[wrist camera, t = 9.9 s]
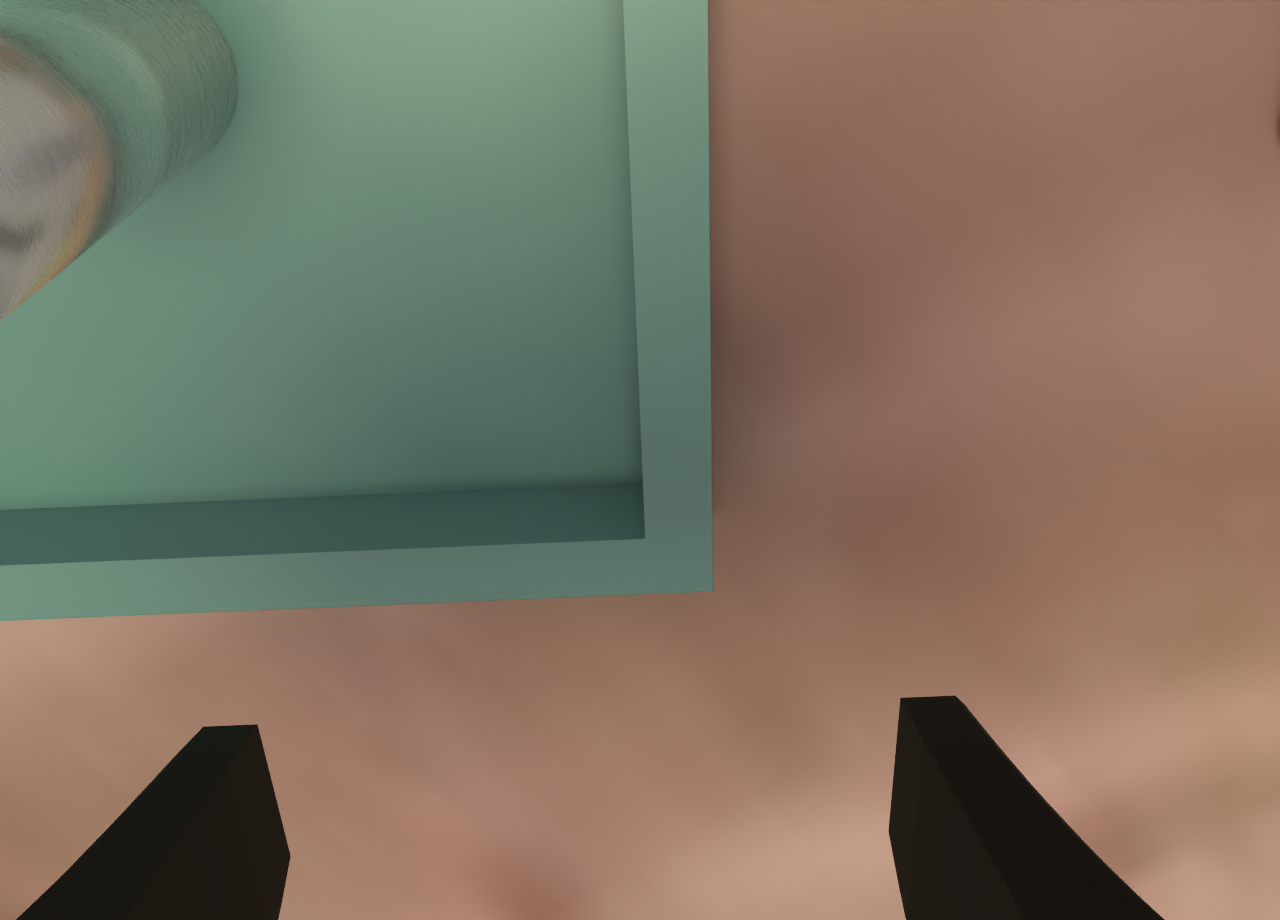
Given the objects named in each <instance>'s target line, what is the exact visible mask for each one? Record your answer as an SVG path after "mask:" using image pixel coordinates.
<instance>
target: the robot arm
mask: <svg viewBox="0 0 1280 920" xmlns="http://www.w3.org/2000/svg"><path fill="white" fill-rule="evenodd" d="M889 836H890V841H891V846H892V852H893V857H894V862H895V867H896V873H897V878H898V883H899V888H900V893H901V898H902V902H903V907H904V912H905V917H906V920H1164V919H1163V918H1162V917H1161V916H1160V915H1159V914H1158V913H1156V912H1155V911H1154V910H1153V909H1152V908H1151V907H1150V906H1149V905H1148V904H1147V903H1146V902H1145V901H1143V900H1142V899H1141V898H1140V897H1139V896H1138V895H1137V894H1136V893H1135V892H1134V891H1133V890H1132V889H1131V888H1130V887H1129V886H1128V885H1127V884H1126V883H1125V882H1124V881H1123V880H1122V879H1121V878H1120V877H1119V876H1118V875H1117V874H1115V873H1114V872H1113V871H1112V870H1111V869H1110V868H1109V867H1108V866H1107V865H1106V864H1105V863H1104V862H1103V861H1102V860H1101V859H1100V858H1099V857H1098V856H1097V855H1096V854H1095V853H1094V852H1093V850H1092V849H1091V848H1090V847H1089V846H1088V845H1087V844H1086V843H1085V842H1084V841H1083V840H1082V839H1081V838H1080V837H1079V836H1078V835H1077V834H1076V833H1075V832H1074V831H1073V829H1072V828H1071V827H1070V826H1069V825H1068V824H1067V823H1066V822H1065V821H1064V820H1063V819H1062V818H1061V817H1060V816H1059V814H1058V813H1057V812H1056V811H1055V810H1054V809H1053V808H1052V807H1051V806H1050V805H1049V804H1048V803H1047V802H1046V800H1045V799H1044V798H1043V797H1042V796H1041V795H1040V794H1039V793H1038V791H1037V790H1036V789H1035V788H1034V787H1033V786H1032V785H1031V784H1030V782H1029V781H1028V780H1027V779H1026V778H1025V777H1024V776H1023V774H1022V773H1021V772H1020V771H1019V770H1018V769H1017V767H1016V766H1015V765H1014V764H1013V763H1012V762H1011V760H1010V759H1009V758H1008V757H1007V756H1006V755H1005V753H1004V752H1003V751H1002V750H1001V749H1000V747H999V746H998V745H997V744H996V743H995V741H994V740H993V739H992V738H991V737H990V735H989V734H988V733H987V732H986V730H985V729H984V728H983V727H982V726H981V724H980V723H979V722H978V721H977V719H976V718H975V717H974V716H973V714H972V713H971V712H970V711H969V710H968V708H967V707H966V706H965V705H964V703H962V702H961V701H960V700H959V699H958V698H957V697H956V696H937V697H912V698H901V699H900V710H899V721H898V733H897V744H896V755H895V766H894V777H893V789H892V800H891V811H890V822H889ZM289 861H290V852H289V848H288V844H287V840H286V836H285V832H284V828H283V824H282V820H281V816H280V812H279V809H278V805H277V801H276V797H275V793H274V789H273V785H272V781H271V777H270V773H269V769H268V765H267V761H266V757H265V753H264V749H263V745H262V741H261V737H260V733H259V729H258V725H235V726H211V727H203V728H202V729H201V730H200V731H199V732H198V733H197V734H196V735H195V736H194V737H193V738H192V739H191V740H190V741H189V742H188V743H187V744H186V745H185V746H184V747H183V748H182V749H181V751H180V752H179V753H178V754H177V755H176V756H175V757H174V758H173V759H172V760H171V761H170V762H169V763H168V764H167V766H166V767H165V768H164V769H163V770H162V771H161V772H160V773H159V774H158V775H157V776H156V777H155V778H154V780H153V781H152V782H151V783H150V784H149V785H148V786H147V787H146V788H145V789H144V790H143V791H142V793H141V794H140V795H139V796H138V797H137V798H136V799H135V800H134V801H133V802H132V803H131V804H130V805H129V806H128V808H127V809H126V810H125V811H124V812H123V813H122V814H121V815H120V816H119V817H118V818H117V819H116V820H115V821H114V823H113V824H112V825H111V826H110V827H109V828H108V829H107V830H106V831H105V832H104V833H103V834H102V835H101V836H100V837H99V838H98V839H97V840H96V841H95V842H94V843H93V844H92V845H91V846H90V847H89V848H88V849H87V850H86V851H85V852H84V854H83V855H82V856H81V857H80V858H79V859H78V860H77V861H76V862H75V863H74V864H73V865H72V866H71V867H70V868H69V869H68V870H67V871H66V872H65V873H64V874H63V875H62V876H61V877H60V878H59V879H58V880H57V881H56V882H55V883H54V884H53V885H52V886H51V887H50V888H49V889H48V890H47V891H46V892H45V893H44V894H42V895H41V896H40V897H39V898H38V899H37V900H36V901H35V902H34V903H33V904H32V905H31V906H30V907H29V908H28V909H27V910H26V911H25V912H24V913H23V914H22V915H20V916H19V917H18V918H17V919H16V920H278V918H279V913H280V908H281V904H282V898H283V893H284V888H285V882H286V877H287V872H288V866H289Z"/></svg>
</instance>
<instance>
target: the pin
mask: <svg viewBox="0 0 1280 920" xmlns="http://www.w3.org/2000/svg"><path fill="white" fill-rule="evenodd" d="M237 99H238V75H237V70H236V64H235V61H234V57H233V54H232V51H231V49H230V46H229V44H228V42H227V39H226V38H225V36H224V34H223V32H222V31H221V29H220V27H219V26H218V25H217V23H216V22H215V20H214V19H213V18H212V16H211V15H210V14H209V13H208V12H207V11H206V10H205V9H204V8H203V6H201V5H200V4H199V3H198V2H197V1H196V0H19V1H16V2H12V3H9V4H6V5H3V6H0V322H1V321H2V320H3V319H4V318H5V317H7V316H8V315H9V314H10V313H12V312H13V311H14V310H15V309H16V308H18V307H19V306H20V305H21V304H22V303H24V302H25V301H26V300H27V299H29V298H30V297H31V296H32V295H33V294H35V293H36V292H37V291H38V290H39V289H41V288H42V287H43V286H44V285H46V284H47V283H48V282H49V281H50V280H52V279H53V278H54V277H55V276H57V275H58V274H59V273H60V272H61V271H63V270H64V269H65V268H66V267H67V266H69V265H70V264H71V263H72V262H74V261H75V260H76V259H77V258H78V257H80V256H81V255H82V254H83V253H84V252H86V251H87V250H88V249H89V248H91V247H92V246H93V245H94V244H95V243H97V242H98V241H99V240H100V239H101V238H103V237H104V236H105V235H106V234H108V233H109V232H110V231H111V230H112V229H114V228H115V227H116V226H117V225H119V224H120V223H121V222H122V221H123V220H125V219H126V218H127V217H128V216H129V215H131V214H132V213H133V212H134V211H136V210H137V209H138V208H139V207H140V206H142V205H143V204H144V203H145V202H146V201H148V200H149V199H150V198H151V197H153V196H154V195H155V194H156V193H157V192H159V191H160V190H161V189H162V188H163V187H165V186H166V185H167V184H168V183H170V182H171V181H172V180H173V179H174V178H176V177H177V176H178V175H179V174H181V173H182V172H183V171H184V170H185V169H187V168H188V167H189V166H190V165H191V164H193V163H194V162H195V161H196V160H198V159H199V158H200V157H201V156H202V155H204V154H205V153H206V152H207V151H208V150H210V149H211V148H212V147H213V146H214V145H215V144H216V143H217V142H218V141H219V140H220V139H221V138H222V136H223V135H224V134H225V132H226V130H227V129H228V127H229V125H230V123H231V121H232V118H233V116H234V113H235V109H236V105H237Z"/></svg>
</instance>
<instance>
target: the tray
mask: <svg viewBox="0 0 1280 920" xmlns="http://www.w3.org/2000/svg"><path fill="white" fill-rule="evenodd" d="M16 1H19V0H0V6H3V5H6V4H9V3H12V2H16ZM196 1H197V2H198V3H199V4H200V5H201V6H203V8H204V9H205V10H206V11H207V12H208V13H209V14H210V15H211V16H212V18H213V19H214V20H215V22H216V23H217V25H218V26H219V27H220V29H221V31H222V32H223V34H224V36H225V38H226V39H227V42H228V44H229V46H230V49H231V51H232V54H233V57H234V61H235V64H236V70H237V75H238V99H237V105H236V109H235V113H234V116H233V118H232V121H231V123H230V125H229V127H228V129H227V130H226V132H225V134H224V135H223V136H222V138H221V139H220V140H219V141H218V142H217V143H216V144H215V145H214V146H213V147H212V148H211V149H210V150H208V151H207V152H206V153H205V154H204V155H202V156H201V157H200V158H199V159H198V160H196V161H195V162H194V163H193V164H191V165H190V166H189V167H188V168H187V169H185V170H184V171H183V172H182V173H181V174H179V175H178V176H177V177H176V178H174V179H173V180H172V181H171V182H170V183H168V184H167V185H166V186H165V187H163V188H162V189H161V190H160V191H159V192H157V193H156V194H155V195H154V196H153V197H151V198H150V199H149V200H148V201H146V202H145V203H144V204H143V205H142V206H140V207H139V208H138V209H137V210H136V211H134V212H133V213H132V214H131V215H129V216H128V217H127V218H126V219H125V220H123V221H122V222H121V223H120V224H119V225H117V226H116V227H115V228H114V229H112V230H111V231H110V232H109V233H108V234H106V235H105V236H104V237H103V238H101V239H100V240H99V241H98V242H97V243H95V244H94V245H93V246H92V247H91V248H89V249H88V250H87V251H86V252H84V253H83V254H82V255H81V256H80V257H78V258H77V259H76V260H75V261H74V262H72V263H71V264H70V265H69V266H67V267H66V268H65V269H64V270H63V271H61V272H60V273H59V274H58V275H57V276H55V277H54V278H53V279H52V280H50V281H49V282H48V283H47V284H46V285H44V286H43V287H42V288H41V289H39V290H38V291H37V292H36V293H35V294H33V295H32V296H31V297H30V298H29V299H27V300H26V301H25V302H24V303H22V304H21V305H20V306H19V307H18V308H16V309H15V310H14V311H13V312H12V313H10V314H9V315H8V316H7V317H5V318H4V319H3V320H2V321H1V322H0V621H10V620H34V619H58V618H82V617H106V616H130V615H155V614H179V613H203V612H227V611H251V610H275V609H299V608H324V607H348V606H372V605H396V604H420V603H444V602H468V601H493V600H517V599H541V598H565V597H589V596H613V595H638V594H662V593H686V592H710V591H713V552H712V436H711V321H710V205H709V89H708V0H196Z"/></svg>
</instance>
